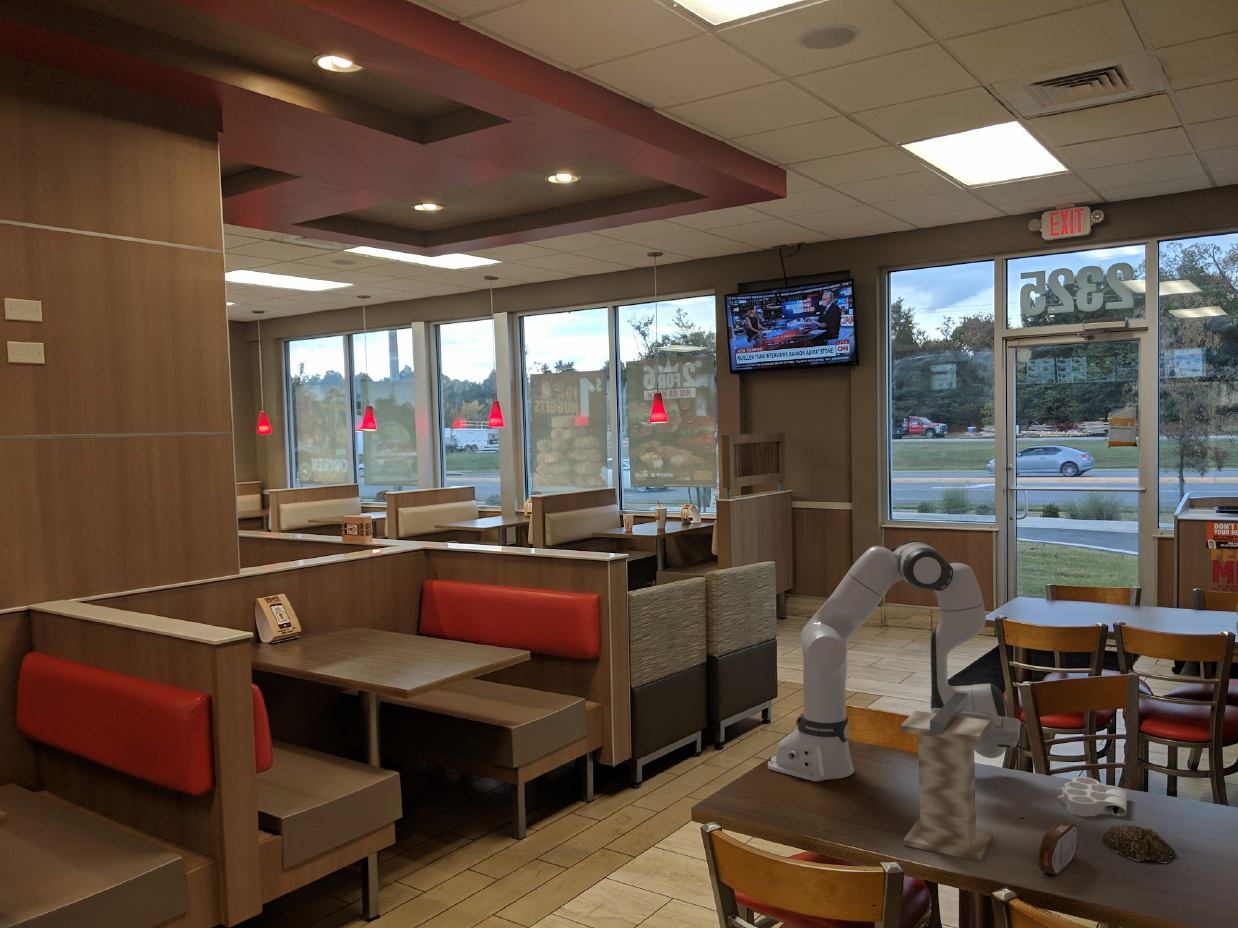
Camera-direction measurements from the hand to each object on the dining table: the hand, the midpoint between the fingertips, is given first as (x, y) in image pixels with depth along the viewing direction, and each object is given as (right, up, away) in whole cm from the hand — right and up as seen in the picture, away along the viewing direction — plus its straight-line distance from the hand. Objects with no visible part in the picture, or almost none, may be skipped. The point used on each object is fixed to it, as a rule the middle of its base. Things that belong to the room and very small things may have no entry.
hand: (969, 714), depth 217 cm
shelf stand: (-12, -22, -19) cm, 32 cm away
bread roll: (+26, -22, -25) cm, 42 cm away
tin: (+6, -22, -32) cm, 39 cm away
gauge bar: (-10, +4, -16) cm, 20 cm away
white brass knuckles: (+29, -21, -1) cm, 36 cm away
